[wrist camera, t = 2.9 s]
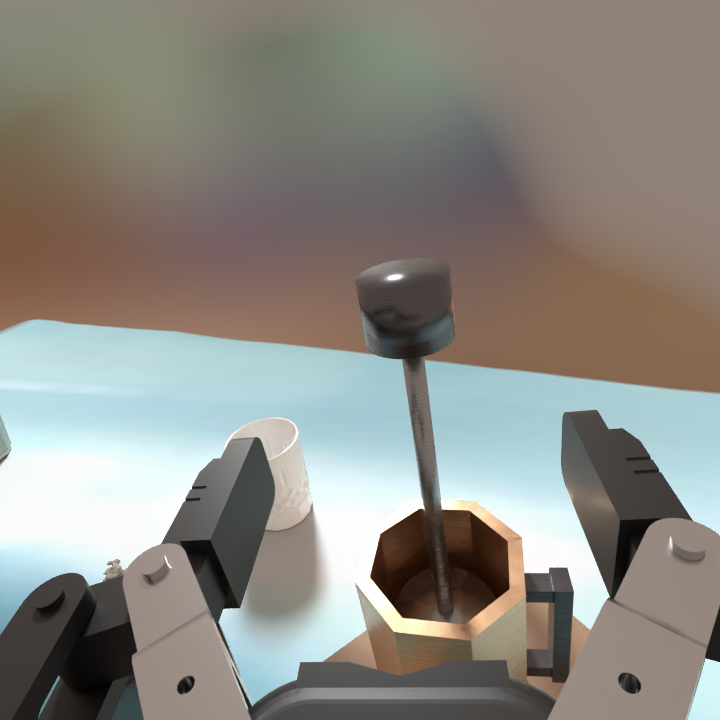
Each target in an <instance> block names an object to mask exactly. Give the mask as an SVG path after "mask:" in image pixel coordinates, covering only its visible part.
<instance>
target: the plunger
mask: <svg viewBox="0 0 720 720" xmlns="http://www.w3.org/2000/svg"><path fill="white" fill-rule="evenodd" d="M355 283H356V289H357V294H358V300H359V306H360V311H361V317H362V322H363V328H364V333H365V339H366V345H367V348H368V349H369V350H370V351H371V352H372V353H373V354H375V355H378V356H381V357H385V358H390V359H402V361H403V368H404V375H405V382H406V389H407V396H408V403H409V410H410V417H411V424H412V431H413V438H414V445H415V453H416V460H417V467H418V474H419V481H420V488H421V495H422V502H423V509H424V516H425V523H426V530H427V537H428V544H429V551H430V558H431V565H432V568H430V569H427V570H424V571H422V572H420V573H418V574H416V575H415V576H414V577H412V578H411V579H410V580H409V581H408V582H407V583H406V584H405V585H404V587H403V588H402V590H401V592H400V593H399V596H398V598H397V602H396V611H397V612H398V613H399V614H400V616H401V617H402V618H407V619H417V620H426V621H436V622H445V623H455V624H464V625H465V624H466V623H467V622H469V621H470V620H471V619H473V618H474V617H475V616H476V615H478V614H479V613H480V612H481V611H483V610H484V609H485V608H486V607H488V606H489V605H490V604H492V603H493V602H494V601H495V600H496V599H495V597H494V595H493V593H492V591H491V590H490V588H489V587H488V586H487V585H486V584H485V583H484V582H483V581H482V580H481V579H480V578H479V577H477V576H476V575H474V574H473V573H471V572H469V571H466V570H464V569H460V568H456V567H449V564H448V555H447V547H446V538H445V530H444V521H443V513H442V505H441V496H440V488H439V479H438V471H437V462H436V454H435V446H434V437H433V429H432V420H431V412H430V404H429V395H428V387H427V378H426V370H425V361H424V356H427V355H430V354H433V353H436V352H438V351H440V350H442V349H444V348H445V347H447V346H448V345H449V344H451V342H452V341H453V340H454V338H455V321H454V311H453V310H454V309H453V298H452V285H451V273H450V266H449V265H448V264H447V263H445V262H443V261H440V260H436V259H428V258H412V259H402V260H396V261H391V262H387V263H383V264H380V265H377V266H374V267H371V268H369V269H367V270H365V271H364V272H362V273H361V274H360V275H358V276H357V278H356V281H355Z"/></svg>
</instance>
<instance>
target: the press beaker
mask: <svg viewBox="0 0 720 720" xmlns="http://www.w3.org/2000/svg"><path fill="white" fill-rule="evenodd" d="M441 505H442V513H443V521H444V530H445V538H446V547H447V555H448V564H449V567H456V568H460V569H464V570H466V571H469V572H471V573H473V574H474V575H476V576H477V577H479V578H480V579H481V580H482V581H483V582H484V583H485V584H486V585H487V586H488V587H489V588H490V590H491V591H492V593H493V595H494V597H495V599H496V600H495V601H494V602H493V603H492V604H490V605H489V606H488V607H486V608H485V609H484V610H483V611H481V612H480V613H479V614H478V615H476V616H475V617H474V618H473V619H471V620H470V621H469V622H467V623H466V624H465V625H464V624H455V623H445V622H436V621H426V620H417V619H407V618H402V617H401V616H400V614H399V613H398V612H397V611H396V602H397V598H398V596H399V593H400V592H401V590H402V588H403V587H404V585H405V584H406V583H407V582H408V581H409V580H410V579H411V578H412V577H414V576H415V575H416V574H418V573H420V572H422V571H424V570H427V569H430V568H432V565H431V558H430V551H429V544H428V537H427V530H426V523H425V516H424V509H423V502H422V499H416V500H414V501H412V502H411V503H409V504H408V505H406V506H404V507H403V508H401V509H399V510H398V511H396V512H395V513H393V514H391V515H390V516H388V517H387V518H385V519H383V520H382V521H380V522H378V523H377V524H375V525H374V526H372V527H370V528H369V529H368V533H367V536H366V540H365V544H364V548H363V552H362V556H361V559H360V563H359V567H358V571H357V575H356V579H355V584H356V588H357V592H358V595H359V599H360V603H361V607H362V611H363V615H364V619H365V623H366V627H367V631H368V635H369V639H370V643H371V647H372V651H373V654H374V658H375V662H376V666H377V670H380V671H384V672H387V673H391V674H395V675H404V674H408V673H412V672H415V671H419V670H422V669H426V668H429V667H433V666H436V665H440V664H443V663H447V662H450V661H466V660H506V661H507V667H508V673H509V678H512V679H516V680H520V681H522V682H525V683H527V676H538V677H551V679H552V682H553V683H565V682H566V680H567V678H568V676H569V667H570V649H571V631H572V614H573V596H574V591H573V587H572V584H571V580H570V576H569V573H568V569H567V568H549V573H524V564H523V550H522V537H520V536H519V535H518V534H517V533H515V532H514V531H513V530H511V529H510V528H509V527H507V526H506V525H505V524H504V523H502V522H501V521H500V520H498V519H497V518H496V517H494V516H493V515H492V514H491V513H489V512H488V511H487V510H485V509H484V508H483V507H481V506H480V505H479V504H478V503H476V502H474V501H448V500H441ZM526 602H532V603H549V604H548V649H527V640H526Z"/></svg>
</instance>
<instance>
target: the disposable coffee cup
mask: <svg viewBox="0 0 720 720" xmlns="http://www.w3.org/2000/svg"><path fill="white" fill-rule="evenodd" d="M10 444H11V442H10V439H9V437H8V434H7V431H6V429H5V426H4V423H3V421H2V418H1V416H0V460H1V459H2V458H4V457H5V456H6V455H7V454H9V452H10V450H11V446H10Z"/></svg>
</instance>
